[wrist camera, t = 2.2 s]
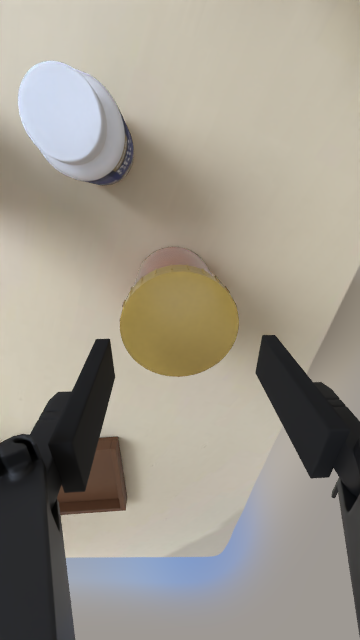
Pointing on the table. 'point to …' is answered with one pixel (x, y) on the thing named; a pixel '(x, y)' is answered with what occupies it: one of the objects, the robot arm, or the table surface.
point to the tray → (99, 483)
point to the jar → (170, 260)
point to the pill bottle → (75, 123)
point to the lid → (178, 321)
